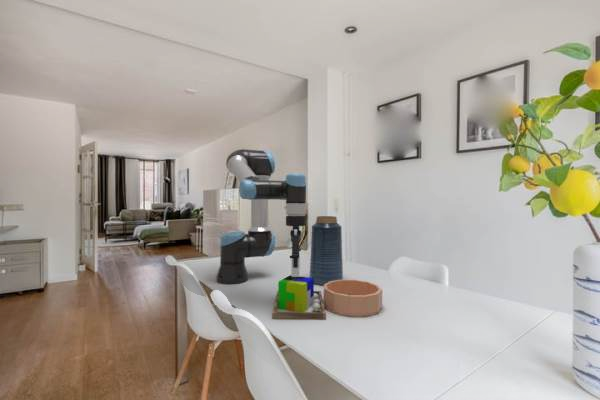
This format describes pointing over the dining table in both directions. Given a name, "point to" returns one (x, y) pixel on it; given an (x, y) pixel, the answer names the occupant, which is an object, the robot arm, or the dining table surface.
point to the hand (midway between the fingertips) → (295, 272)
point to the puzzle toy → (295, 293)
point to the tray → (300, 314)
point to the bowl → (352, 298)
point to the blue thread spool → (326, 250)
